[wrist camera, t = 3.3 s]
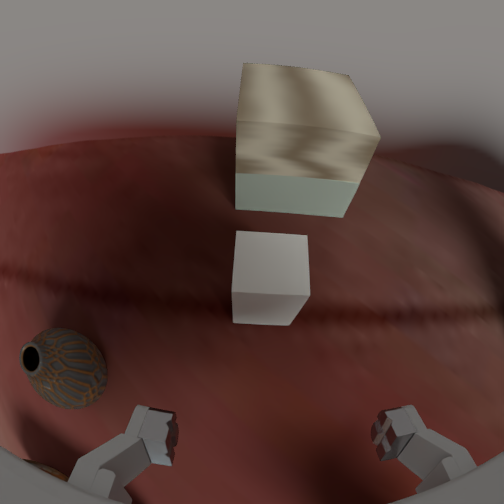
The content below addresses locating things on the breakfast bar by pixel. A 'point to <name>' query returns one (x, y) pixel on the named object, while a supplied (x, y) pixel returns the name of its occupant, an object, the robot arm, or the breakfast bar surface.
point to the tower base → (293, 194)
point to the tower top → (302, 124)
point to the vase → (64, 368)
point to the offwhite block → (269, 277)
